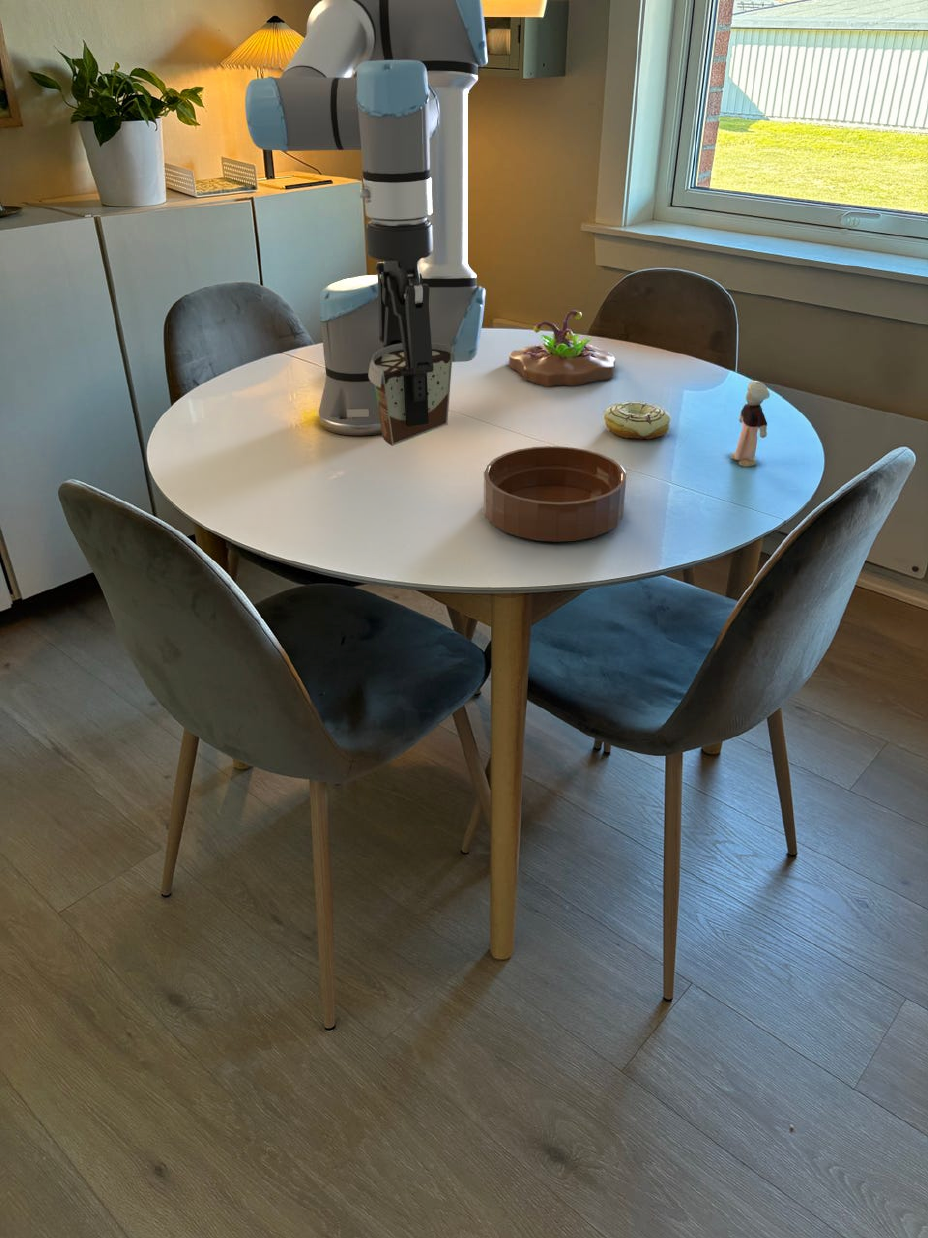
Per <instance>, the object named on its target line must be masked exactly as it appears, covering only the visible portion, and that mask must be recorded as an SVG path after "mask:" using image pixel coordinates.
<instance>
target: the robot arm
mask: <svg viewBox="0 0 928 1238" xmlns="http://www.w3.org/2000/svg"><path fill="white" fill-rule="evenodd" d="M482 7H483V3H482V4H481V0H318V2H317V3H315V5H314V7H313V8H312V10H311V11H310V14H309V16H308V18H307V23H306V35H305V37H304V38H303V39H302V41H301V44H299V46H298V48H297V50H296V51H295V53H294V55H293V56H292V58H291V59H290V61H289V63H288V64H287V66H286V68H285V69H284V71H283V73H282V75H280V77H274V76H268V77H263V78H254V79H252V80H250V81H249V83H248V84H247V87H246V90H245V95H244V97H245V98H244V110H245V119H246V125H247V129H248V133H249V135H250V139H251V140H252V143H253V144H254V145H255V147H258V148H259V149H260V150H265V151H280V152H281V151H282V152H283V153H288V152H307V151H308V152H310V151H312V152H313V151H315V152H318V151H319V152H320V151H361V162H362V164H361V165H362V178H363V187H364V188H362V189H360V190H359V191H358V194H359V198H360V199H362V200H364V209H365V210H364V211H365V216H367V218H369V219H370V220H368V221H367V223H366V225H365V232H366V233H365V234H366V248H367V254H368V255H369V257H370V258H371V259H374V260H378V261H380V262H376V263H375V271H376V274H370V275H360V276H355V277H350V278H346V279H345V278H344V279H342V280H339V281H336V282H333V283H331V284H329V285H327V286H326V287H325V288H323V290H322V291H321V292H320V295H319V318H318V319H319V320H318V321H320V328H321V329H320V330H321V340H322V349H323V359H324V368H325V382H324V386H323V391H322V394H321V399H320V403H319V408H318V421H319V424H320V427H322V428H323V429H325V430H326V431H329V432H331V433H335V434H340V435H344V436H372V435H379V434H382V430H381V423H380V416H379V409H378V402H377V395H376V388H375V384H373V383H372V382H371V381H370V380H369V377H368V375H369V368H370V362H371V360H372V357H373V355H374V354H375V353H376V352H377V351H379V350H380V349H382V348H385V347H388V346H391V345H395V344H400V343H402V344H403V351H404V358H405V365H406V370H403V371H400V372H401V375H402V376H404V393H405V414H406V425H407V426H415V425H422V424H429V416H428V388H427V373H428V372H433V368H434V366H433V357H432V343H440V344H445V345H449V346H452V347H453V351H454V353H455V360H456V362H455V363H461V362H464V363H465V362H470V361H472V360H473V359H474V358H475V357H476V355H477V354H478V350H479V346H480V340H481V335H482V328H483V320H484V315H485V314H484V312H485V303H486V289H485V288H484V287H482V286H481V285H478V284H477V282H478V281H477V279H478V277H477V274H476V272H475V271H474V270H473V269H472V268H471V267H470V265H469V263H468V96H469V95H468V94H469V91H470V90H471V89H472V88H473V86H474V85H475V84H476V83H477V82H478V81H479V80H478V79H479V68H483V67H484V66H486V65H487V64H488V61H489V59H488V45H487V44H488V43H487V36H486V35H487V34H486V26H485V25H486V24H485V17H484V16H482V15H484V9H483V10H482ZM355 74H356V76H355V77H354V75H355ZM381 261H382V262H381ZM477 285H478V286H477ZM431 342H432V343H431Z"/></svg>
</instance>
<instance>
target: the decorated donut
mask: <svg viewBox="0 0 928 1238" xmlns="http://www.w3.org/2000/svg"><path fill="white" fill-rule="evenodd" d="M603 420H604V422H605V426H606V427H607V429H608V430H609V431H610V432H611V433H613V434H614V435H617V436H618V437H621V438H622V437H623V438H624V439H639V440H644V439H646V440H651V439H655V438H659V437H660V436H664V435H666V434H667V433H668V431H669V428H670V421H671V415H670V414H669V412H667V410H665V409H664V408H663V407H662V406H659V405H656V404H651V403H648V402H643V401H623V402H617V403H615V404H612V405H610V407H608V408H607V409H606V410H605V412H604V416H603Z"/></svg>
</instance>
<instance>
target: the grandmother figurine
mask: <svg viewBox="0 0 928 1238" xmlns="http://www.w3.org/2000/svg"><path fill="white" fill-rule="evenodd" d="M745 395H746V396H745V400H746V404H744V405H743V407H742V409H741V411H740V415H739V419H738V421H739V423H741V424H742V427H741V428H742V429H741V432H740V435H739V439H738V441H737V445H736V448H735V452H733V453H732V454H731V455H730V458H731V459H732V460H734V461H738V464H739V465H740V466H741V467H745V468H748V467H754V466H756V465H757V464H758V463H757V460H755V456H756V451H757V444H758V431H759V437H760V438H761V439H764V438H766V437H767V430H768V429H767V426H768V422H767V419H766V416H765V414H764V412H763V408H762V403H763V402H764V401H765V400H767V399H769V398H770V395H771V394H770V391H769V390H768V387H767V386H766V384H765V383H763V382H761V381H757V380H752V381H751V382H749V383H748V385H747V392H746V394H745Z"/></svg>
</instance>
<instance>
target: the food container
mask: <svg viewBox="0 0 928 1238" xmlns="http://www.w3.org/2000/svg"><path fill="white" fill-rule="evenodd" d="M431 343H432V342H431ZM432 357H433V366H434V368H433V372H428V373H427V388H428V416H429V424H422V425H415V426H407V425H406V414H405V393H404V376H402V375H401V372H400V371H403V370H406V365H405V358H404V351H403V344H402V343H400V344H395V345H391V346H388V347H385V348H382V349H380V350H379V351H377V352H376V353H375V354H374V355H373V357H372V360H371V362H370V368H369V375H368V377H369V380H370V381H371V382H372V383H373V384H375V388H376V395H377V402H378V409H379V416H380V423H381V430H382V433H381V435H382V439H383V441H384V442H385V443H386V444H388V445H390V446H391V447H394V446H397V445H400V444H401V443H404V442H406V441H409V440H411V439H414V438H416V437H419V436H421V435H424V434H427V433H429V432H431V431H434V430H437V429H440V428H442V427H444V426H447V425H448V422H449V410H450V409H449V408H450V407H449V406H450V396H451V395H450V394H451V382H452V381H451V380H452V368H453V363H457V362H456V360H455V353H454V351H453V347H452V346H449V345H445V344H440V343H432Z"/></svg>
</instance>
